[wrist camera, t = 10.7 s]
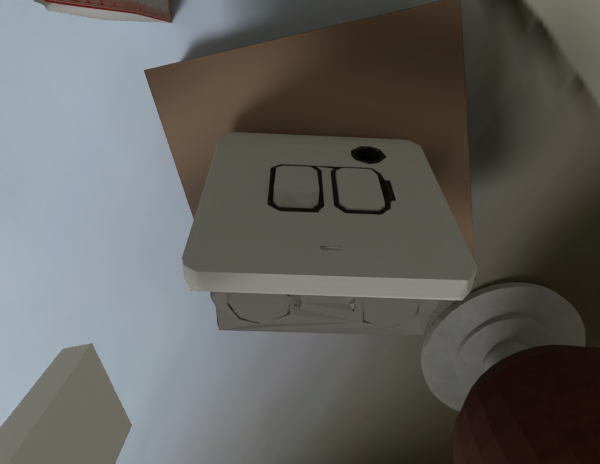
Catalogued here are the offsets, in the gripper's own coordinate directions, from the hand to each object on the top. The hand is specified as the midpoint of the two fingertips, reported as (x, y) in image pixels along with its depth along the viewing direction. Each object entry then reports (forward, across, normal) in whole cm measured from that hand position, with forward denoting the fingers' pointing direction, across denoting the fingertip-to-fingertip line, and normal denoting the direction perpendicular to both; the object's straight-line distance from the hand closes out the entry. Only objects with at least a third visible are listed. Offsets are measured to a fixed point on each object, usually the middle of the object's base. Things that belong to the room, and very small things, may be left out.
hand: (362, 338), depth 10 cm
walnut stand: (+18, 0, -1) cm, 18 cm away
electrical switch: (+12, 0, 0) cm, 12 cm away
